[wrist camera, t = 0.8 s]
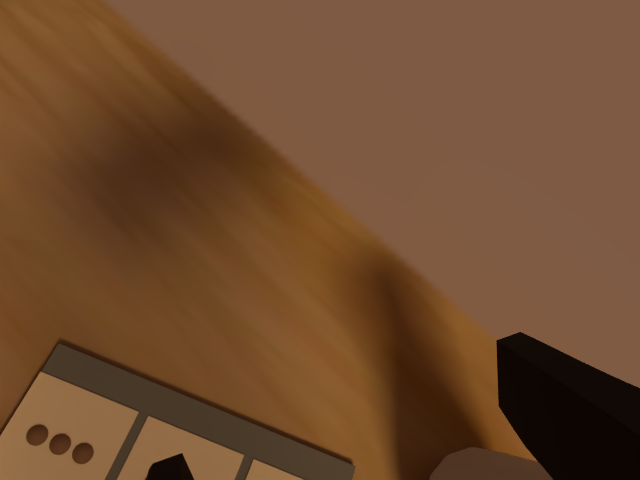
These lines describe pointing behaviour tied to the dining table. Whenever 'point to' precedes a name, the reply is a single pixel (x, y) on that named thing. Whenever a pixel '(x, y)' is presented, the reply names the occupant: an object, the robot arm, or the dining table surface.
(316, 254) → the dining table surface
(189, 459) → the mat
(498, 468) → the salt shaker
